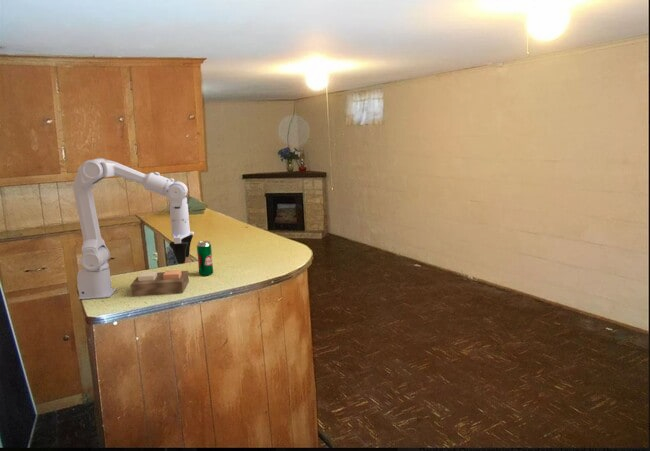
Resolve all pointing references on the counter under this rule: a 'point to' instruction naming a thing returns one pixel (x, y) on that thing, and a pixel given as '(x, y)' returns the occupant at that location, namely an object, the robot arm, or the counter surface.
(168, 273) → the terracotta key
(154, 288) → the key console
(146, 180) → the robot arm
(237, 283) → the counter surface
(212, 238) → the counter surface
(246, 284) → the counter surface
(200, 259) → the soda can
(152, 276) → the offwhite key
